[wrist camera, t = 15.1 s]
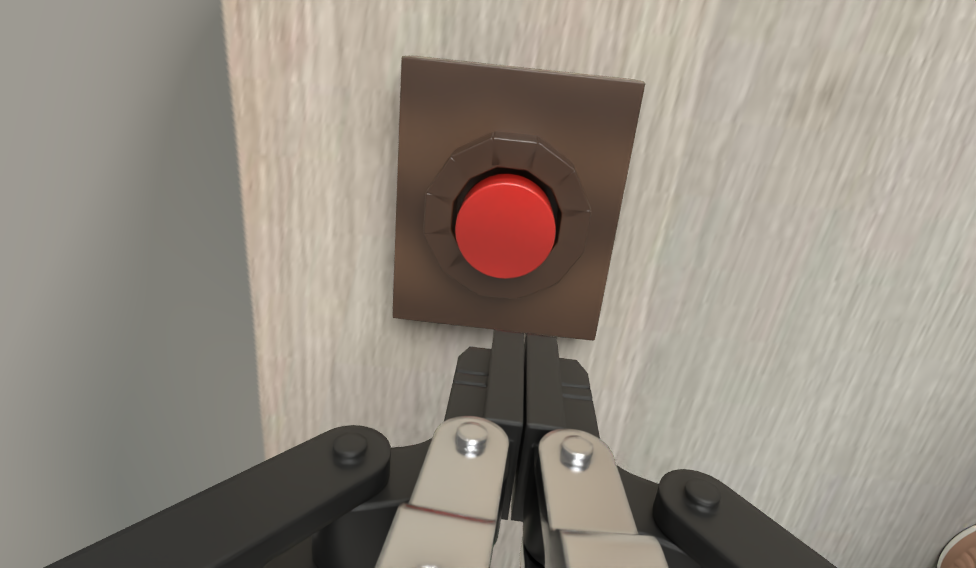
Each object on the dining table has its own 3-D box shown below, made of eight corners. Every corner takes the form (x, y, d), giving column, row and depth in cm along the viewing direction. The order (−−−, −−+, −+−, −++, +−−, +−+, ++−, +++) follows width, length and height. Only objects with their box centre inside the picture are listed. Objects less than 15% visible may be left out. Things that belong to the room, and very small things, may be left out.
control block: (410, 55, 25) (391, 56, 21) (635, 79, 25) (655, 84, 21) (401, 300, 29) (383, 335, 26) (589, 321, 29) (599, 360, 26)
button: (463, 168, 23) (459, 177, 21) (560, 178, 23) (562, 188, 21) (455, 258, 24) (451, 273, 23) (546, 269, 24) (548, 284, 23)
